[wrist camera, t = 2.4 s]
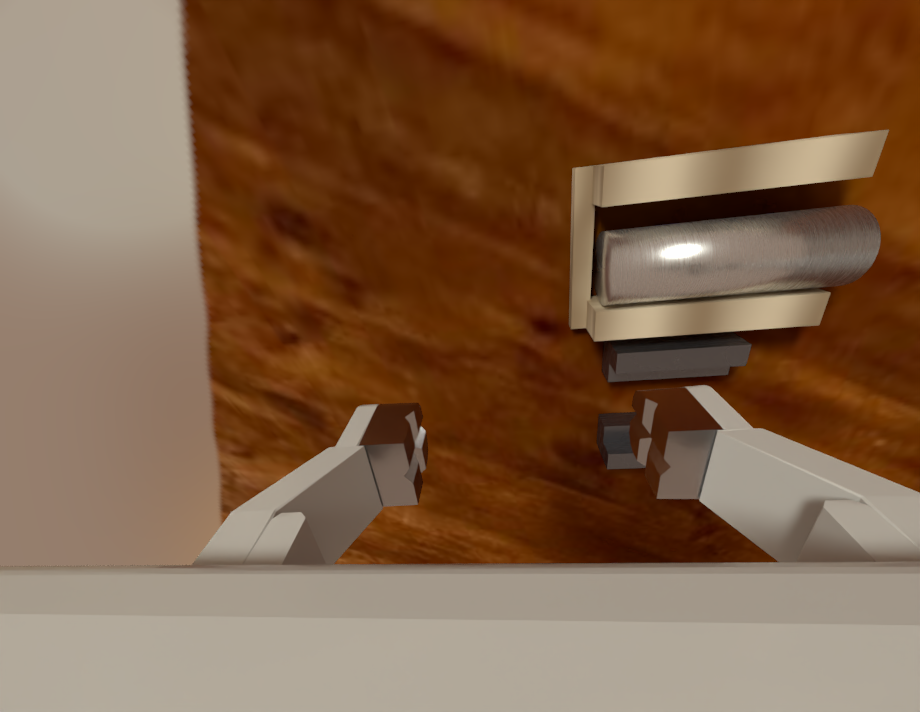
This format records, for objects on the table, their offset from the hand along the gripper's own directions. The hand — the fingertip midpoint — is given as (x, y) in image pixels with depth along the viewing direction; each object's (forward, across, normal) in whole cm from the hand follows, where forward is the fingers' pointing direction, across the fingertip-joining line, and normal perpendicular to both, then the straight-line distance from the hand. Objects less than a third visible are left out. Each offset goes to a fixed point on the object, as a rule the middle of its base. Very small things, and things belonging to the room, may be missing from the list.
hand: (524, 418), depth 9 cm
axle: (+15, -12, +1) cm, 20 cm away
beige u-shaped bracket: (+17, -12, 0) cm, 21 cm away
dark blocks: (+17, -11, +11) cm, 23 cm away
